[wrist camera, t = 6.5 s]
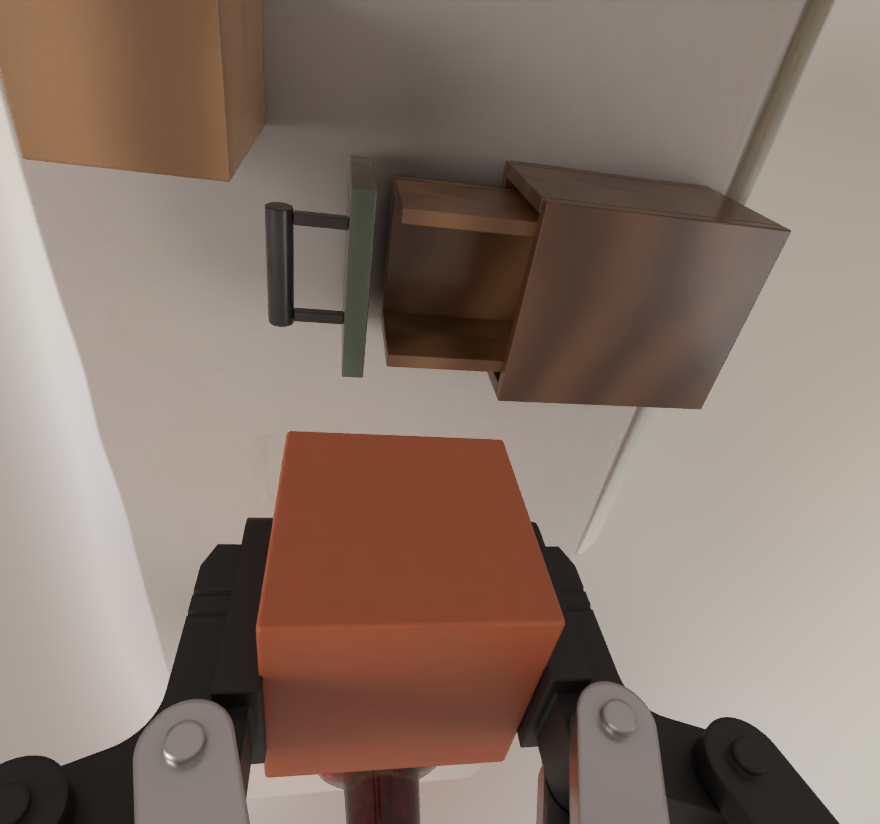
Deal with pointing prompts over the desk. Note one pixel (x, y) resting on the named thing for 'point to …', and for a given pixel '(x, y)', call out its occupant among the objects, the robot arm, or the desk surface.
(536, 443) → the desk surface
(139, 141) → the stand
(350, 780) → the vase
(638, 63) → the desk surface
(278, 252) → the drawer
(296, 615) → the block
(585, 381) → the cabinet
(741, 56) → the desk surface
